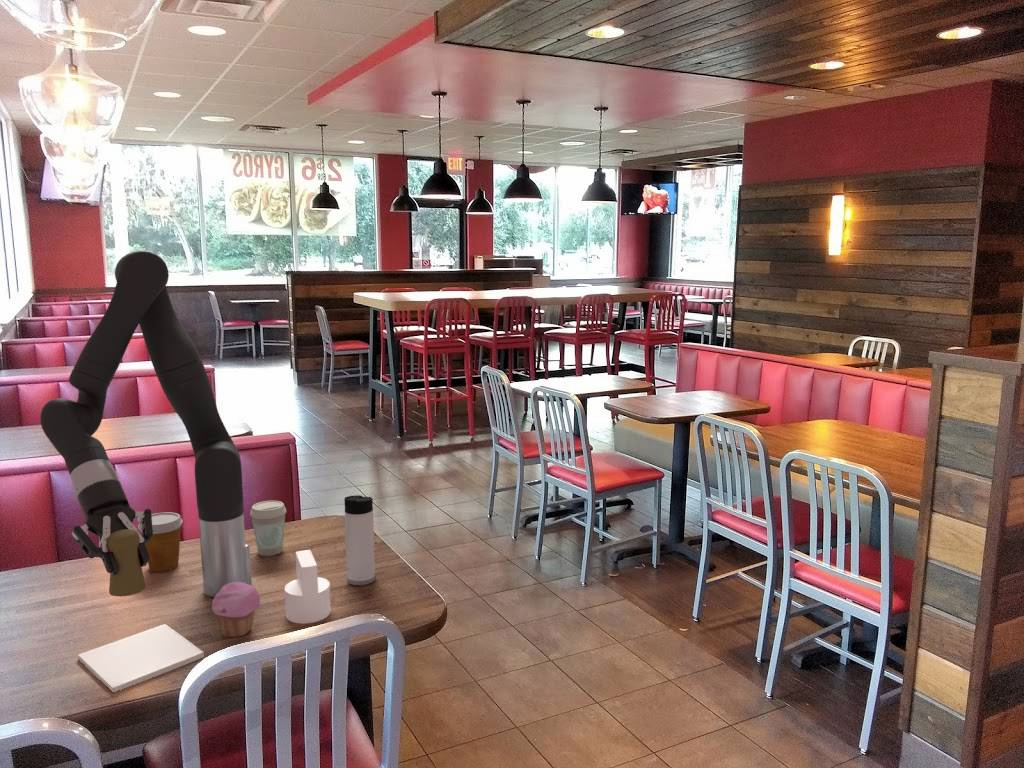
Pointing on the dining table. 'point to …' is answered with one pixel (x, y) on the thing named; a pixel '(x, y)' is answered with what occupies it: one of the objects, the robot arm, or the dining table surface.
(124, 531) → the cork
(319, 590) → the cylinder with rectangular tab
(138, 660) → the white mat
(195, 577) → the dining table surface
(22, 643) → the dining table surface
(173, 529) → the disposable coffee cup
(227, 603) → the cupcake
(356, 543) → the travel mug
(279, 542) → the coffee cup
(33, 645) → the dining table surface
